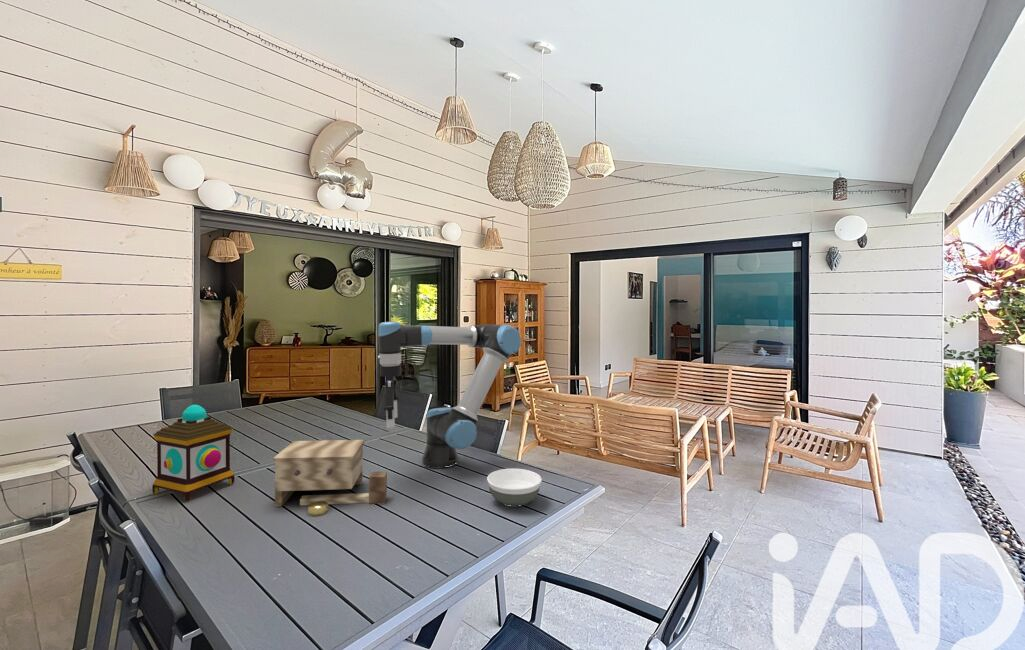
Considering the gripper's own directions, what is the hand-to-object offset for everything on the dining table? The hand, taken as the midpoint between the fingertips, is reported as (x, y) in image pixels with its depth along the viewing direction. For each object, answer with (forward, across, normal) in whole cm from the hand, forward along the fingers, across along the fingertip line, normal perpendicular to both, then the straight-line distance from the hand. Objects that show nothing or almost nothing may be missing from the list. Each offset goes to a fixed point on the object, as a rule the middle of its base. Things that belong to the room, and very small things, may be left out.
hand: (392, 422), depth 164 cm
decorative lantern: (+21, -6, -69) cm, 72 cm away
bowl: (+25, +20, +41) cm, 52 cm away
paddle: (+23, +12, -15) cm, 30 cm away
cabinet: (+22, +4, -24) cm, 33 cm away
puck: (+22, +18, -22) cm, 37 cm away
